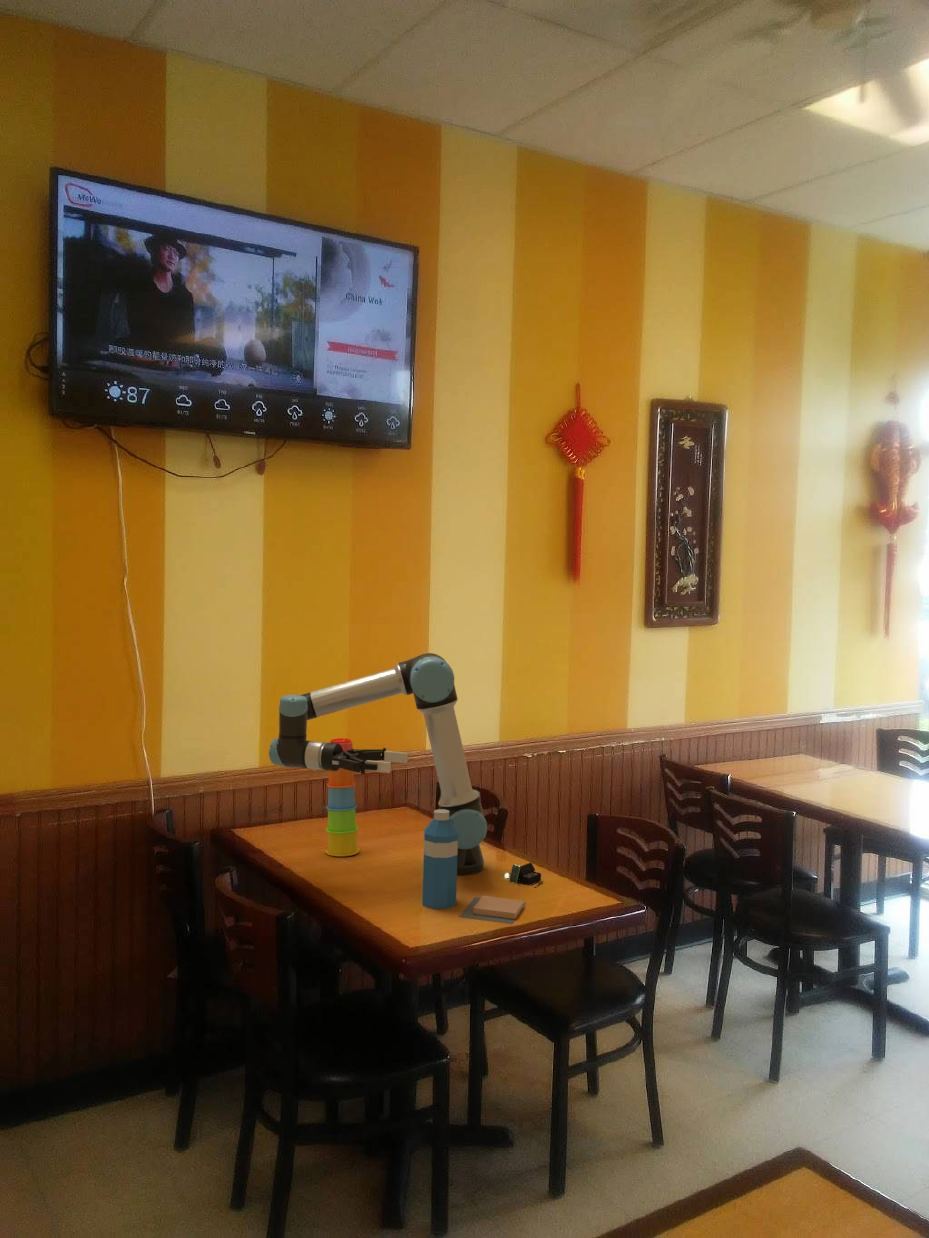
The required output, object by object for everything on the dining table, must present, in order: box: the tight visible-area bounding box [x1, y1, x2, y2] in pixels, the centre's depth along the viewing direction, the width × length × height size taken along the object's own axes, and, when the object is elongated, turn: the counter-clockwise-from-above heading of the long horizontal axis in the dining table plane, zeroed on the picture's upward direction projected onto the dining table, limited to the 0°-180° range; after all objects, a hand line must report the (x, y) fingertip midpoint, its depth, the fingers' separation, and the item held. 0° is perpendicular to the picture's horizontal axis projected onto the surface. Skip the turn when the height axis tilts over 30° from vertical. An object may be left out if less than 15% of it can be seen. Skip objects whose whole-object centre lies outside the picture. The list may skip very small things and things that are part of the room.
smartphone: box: [504, 862, 544, 889], centre depth 290 cm, size 15×15×6 cm
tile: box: [473, 895, 525, 919], centre depth 263 cm, size 10×2×11 cm
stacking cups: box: [325, 737, 360, 857], centre depth 310 cm, size 10×10×35 cm
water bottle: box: [421, 808, 458, 910], centre depth 267 cm, size 9×9×25 cm
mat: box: [458, 896, 527, 925], centre depth 264 cm, size 16×14×1 cm
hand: (399, 762), depth 272 cm, fingers open, 13 cm apart
